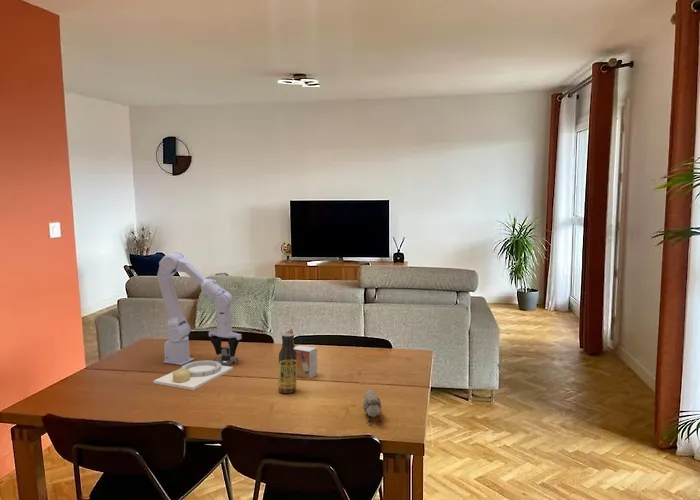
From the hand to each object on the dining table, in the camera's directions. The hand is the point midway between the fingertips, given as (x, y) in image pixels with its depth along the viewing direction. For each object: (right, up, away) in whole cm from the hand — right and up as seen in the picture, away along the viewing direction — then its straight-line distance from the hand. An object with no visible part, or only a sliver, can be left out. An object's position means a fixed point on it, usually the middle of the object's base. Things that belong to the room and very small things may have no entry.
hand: (225, 355), depth 216 cm
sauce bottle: (+29, -6, -31) cm, 43 cm away
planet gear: (0, -3, 0) cm, 3 cm away
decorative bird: (+57, -9, -52) cm, 77 cm away
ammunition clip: (+25, -3, +3) cm, 25 cm away
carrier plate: (-8, -5, -16) cm, 18 cm away
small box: (+33, -5, -16) cm, 37 cm away
